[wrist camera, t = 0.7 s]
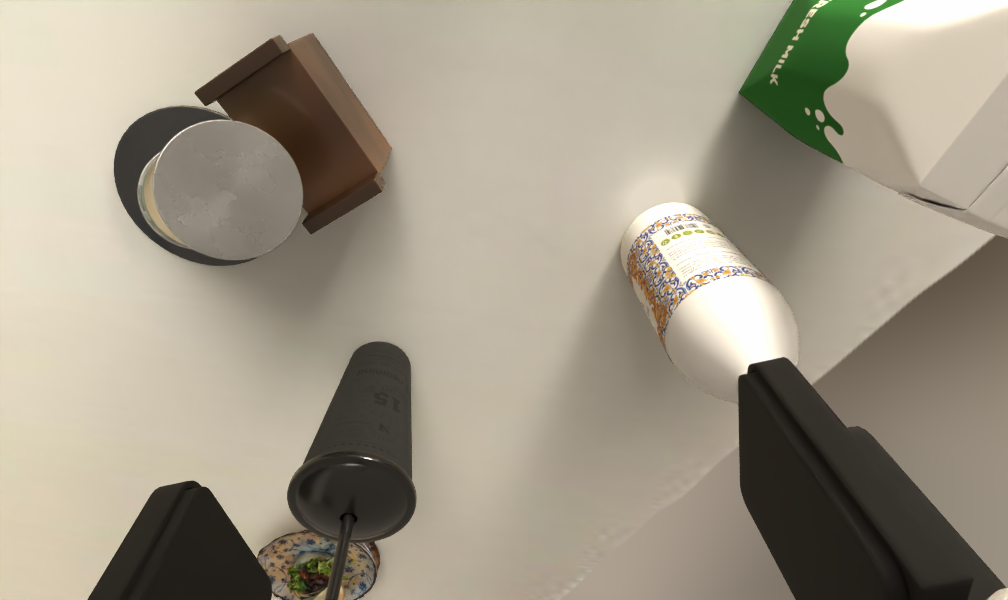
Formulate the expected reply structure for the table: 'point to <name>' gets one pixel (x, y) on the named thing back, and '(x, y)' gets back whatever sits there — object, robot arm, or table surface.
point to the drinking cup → (360, 458)
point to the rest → (307, 122)
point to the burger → (317, 567)
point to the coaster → (140, 149)
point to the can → (222, 190)
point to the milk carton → (899, 96)
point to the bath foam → (705, 298)
